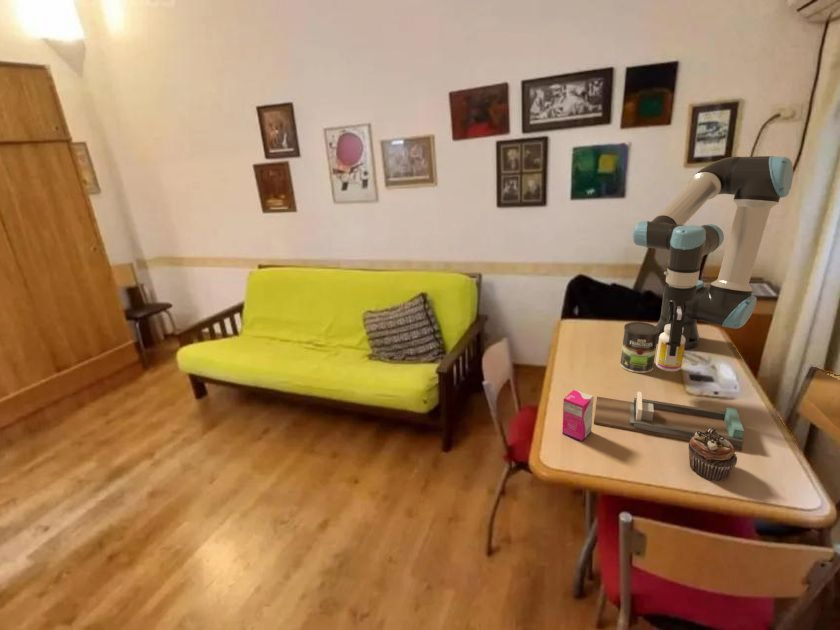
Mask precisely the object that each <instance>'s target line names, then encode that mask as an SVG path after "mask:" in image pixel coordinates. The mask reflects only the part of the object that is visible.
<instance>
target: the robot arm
mask: <svg viewBox="0 0 840 630" xmlns="http://www.w3.org/2000/svg"><path fill="white" fill-rule="evenodd" d="M793 177H794V169H793V163H792V160H791V159H790V158H789V157H786V156H778V155H777V156H776V155H775V156H774V155H769V156H767V155H764V156H762V155H760V156H757V155H756V156H730V157H725V158H721V159H720V160H719V159H718V160H716V161H713V162H712V163H710V164H708V165H706V166H704V167H702V168H701V169H699V170H698V171H697V172H696V173H695V174H694V175H692V177H691V178H690V179H689V181H688V185H687V186H686V187H685V188H683V190H682V191H681V192H680V193H679V194H678V195H677V196H676V197H674V199H673V200H672V201H671V202H669V204H668V205H667V206H666V207H665V208H663V210H661V212H660V213H658V215H657V216H656V217H654V218H653V219H652V220H651V221H650V220H642V221H641V220H640V221H639V222H637V223H636V225H635V227H634V229H633V232H632V241H633V243H634V244H635V245H636V246H640V247H646V248H647V249H648V248H650V249H659V250H664V251H665V250H666V251H669V252H668V253H669V254H668V261H667V269H666V270H667V271H664V272H663V275H665V284H664V289H663V294H662V303H661V308H660V309H661V311H660V315H659V316H660V317H659V320H658V321H657V323H656V325H655V326H656V327H658V328H659V334H658V340H657V344H658V342H659V336H660V334H662V333H663V332H665V331H664V327H665V325H667V324H671V327H670V336H669V342H666V345H667V351H666V358H665V364H667V365H675V366H676V361H677V354H678V348H679V347H680V346H681V344H680V343H681V336H682V335H683V336H684V337H685V339H686V341H685V347H684V350H690V349H693V348H697V347H698V345H699V342H700V333H699V330H698V323H697V321H701V322H705V323H710V324H713V325H717V326H720V327H721V326H722V328H730V329H740V328H742V327H744V326H745V324H746V323H747V322H748V320H749V319H750V318H751V316H752V314H753V312H754V310H755V308H756V305H757V300H758V299H757V296H755V295H753V290H754V289H753V288H752V287H751V285H750V281H751V277H752V274H753V270H754V267H755V263H756V260H757V257H758V253H759V250H760V246H761V242H762V239H763V236H764V232H765V230H766V227H767V222H768V219H769V216H770V212H771V210H772V208H773V207H775V206H777V205H778V204H779V202H780V199H781V198H785V197H787V196H788V195H789V193H790V190H791V188H792V184H793ZM718 195H732V196H734V197H733V200H732V201H733V202H734V204H736V211H735V215H734V218H733V222H732V225H731V229H730V231H729V236H728V239H727V244H726V247H725V251H724V254H723V259H722V261H721V266H720V270H719V273H718V276H717V279H716V280H714V281H712V282H711V283H710V285H709V287H706V286H705V283H704V281H703V280H700V279H699V277H700V272H701V271H700V270H701V263H702V259H703V257H704V256H706V255H708V254H710V253H713V252H715V251H716V250H717V249H718V248H720V246H722V244H723V242H724V240H725V235H724V232H723V230H722V228H720V227H719V226H718V225H715V224H710V223H709V224H704V225H703V224H702V225H701V226H699V225H691V224H688V225H687V222H688V221H690V219H691V218H692V217H693V216H694V215H695V214H696V213H697V212H698V211H699V210H700V209H701V208H702V207H703V205H705V204H706V202H708V200H712V199H714V198H715V197H717V196H718ZM682 329H683V333H682Z"/></svg>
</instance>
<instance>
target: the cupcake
mask: <svg viewBox="0 0 840 630" xmlns="http://www.w3.org/2000/svg"><path fill="white" fill-rule="evenodd" d="M715 430H716V429H713V428H712V429H709V430H708V431H705V433H702V432H699V431H697V432H696V433H695V436H693V437H692V438H691V440H690V441H688V442H689V443H688V458H689V459H688V460H689V467H690V468H691V471H693V472H694V473H695V474H696V475H697V476H699V477H700V478H704V479H705V480H707V481H714V482H723V481H726V480H727V479H728V478H729V477H730V475H731V473H732V471H733V469H734V468H736V465H737V464H738V456H737V454H735V453H736V450H735V448H734V447H733V445H732V444H731V443H730V442H729V441H727V440H726V439H725V438H724V437H723V436H721V435H720V434H718V433H717V432H716V431H715ZM717 435H719V436H717Z"/></svg>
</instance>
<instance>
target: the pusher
mask: <svg viewBox="0 0 840 630" xmlns="http://www.w3.org/2000/svg"><path fill="white" fill-rule="evenodd" d="M642 396H643V395H642V391H637V396H636V398H637V400H636V420H638V421H641V419H642V420H648V421H652V420H653V414H654V409H653V404H650V403H644V402H642V399H643V397H642Z"/></svg>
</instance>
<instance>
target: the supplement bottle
mask: <svg viewBox="0 0 840 630" xmlns="http://www.w3.org/2000/svg"><path fill="white" fill-rule="evenodd" d="M670 327H671V324H667V325H665V327H664V331H665V332H663V333H662V334H660V336H659V342H658V343H657V348H656V350H657V351H656V355H655V366H656V367H657V368H658V369H659V370H662V371H666V372H677V371H679V370H681V368H682V364H683V357H684V352H685V349H684V347H685V341H686V339H685V337H684V336H683V335H682V336H681V343H680V344H681V346H680V347H679V348H678V354H677V361H676V366H675V365H667V364H665V358H666V351H667V345H666V342H669V336H670ZM682 333H683V329H682Z"/></svg>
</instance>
